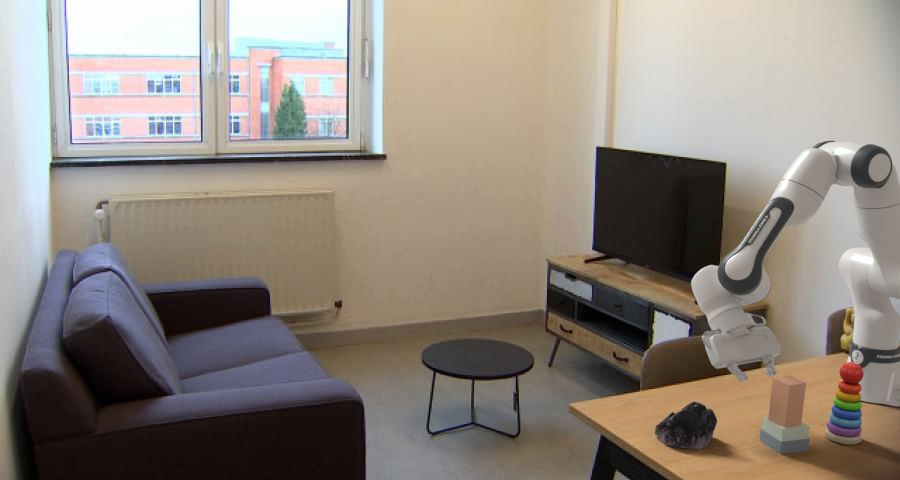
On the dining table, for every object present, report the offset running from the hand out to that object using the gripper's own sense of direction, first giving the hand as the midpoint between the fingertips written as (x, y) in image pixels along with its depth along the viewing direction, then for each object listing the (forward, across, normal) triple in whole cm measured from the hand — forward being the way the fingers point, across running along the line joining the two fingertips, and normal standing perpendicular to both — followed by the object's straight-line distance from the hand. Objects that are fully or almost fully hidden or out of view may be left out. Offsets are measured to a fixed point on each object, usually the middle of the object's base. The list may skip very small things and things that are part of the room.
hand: (758, 378), depth 206 cm
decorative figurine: (-12, +75, +31) cm, 82 cm away
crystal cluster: (+7, -18, +12) cm, 23 cm away
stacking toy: (+18, +16, +1) cm, 24 cm away
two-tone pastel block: (+16, 0, +3) cm, 16 cm away
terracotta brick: (+12, 0, -1) cm, 12 cm away
